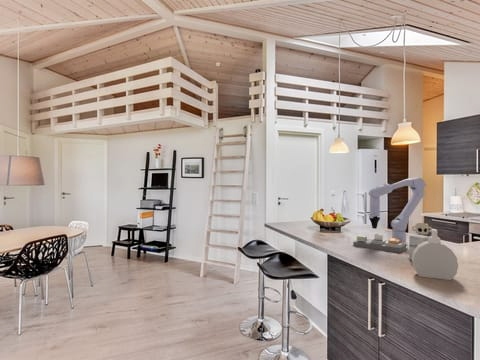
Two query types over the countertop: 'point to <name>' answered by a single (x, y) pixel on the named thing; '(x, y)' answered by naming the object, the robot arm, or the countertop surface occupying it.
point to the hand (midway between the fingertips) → (374, 228)
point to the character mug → (421, 228)
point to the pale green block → (361, 238)
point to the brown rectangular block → (395, 241)
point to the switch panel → (381, 245)
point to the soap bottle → (434, 259)
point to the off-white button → (378, 237)
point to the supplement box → (415, 242)
